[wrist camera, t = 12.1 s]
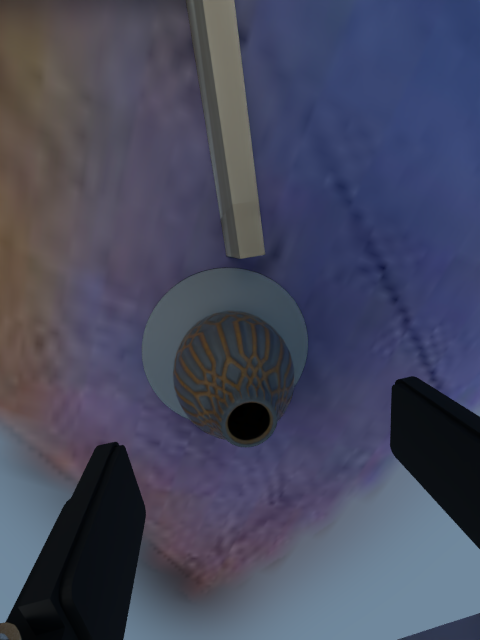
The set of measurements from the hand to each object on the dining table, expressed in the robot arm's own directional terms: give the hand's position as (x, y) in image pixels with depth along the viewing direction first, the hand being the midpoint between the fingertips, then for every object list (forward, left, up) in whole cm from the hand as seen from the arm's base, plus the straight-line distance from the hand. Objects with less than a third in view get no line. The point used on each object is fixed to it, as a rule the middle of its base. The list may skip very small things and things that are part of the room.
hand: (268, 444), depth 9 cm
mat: (0, +1, -11) cm, 11 cm away
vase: (0, 0, -11) cm, 11 cm away
